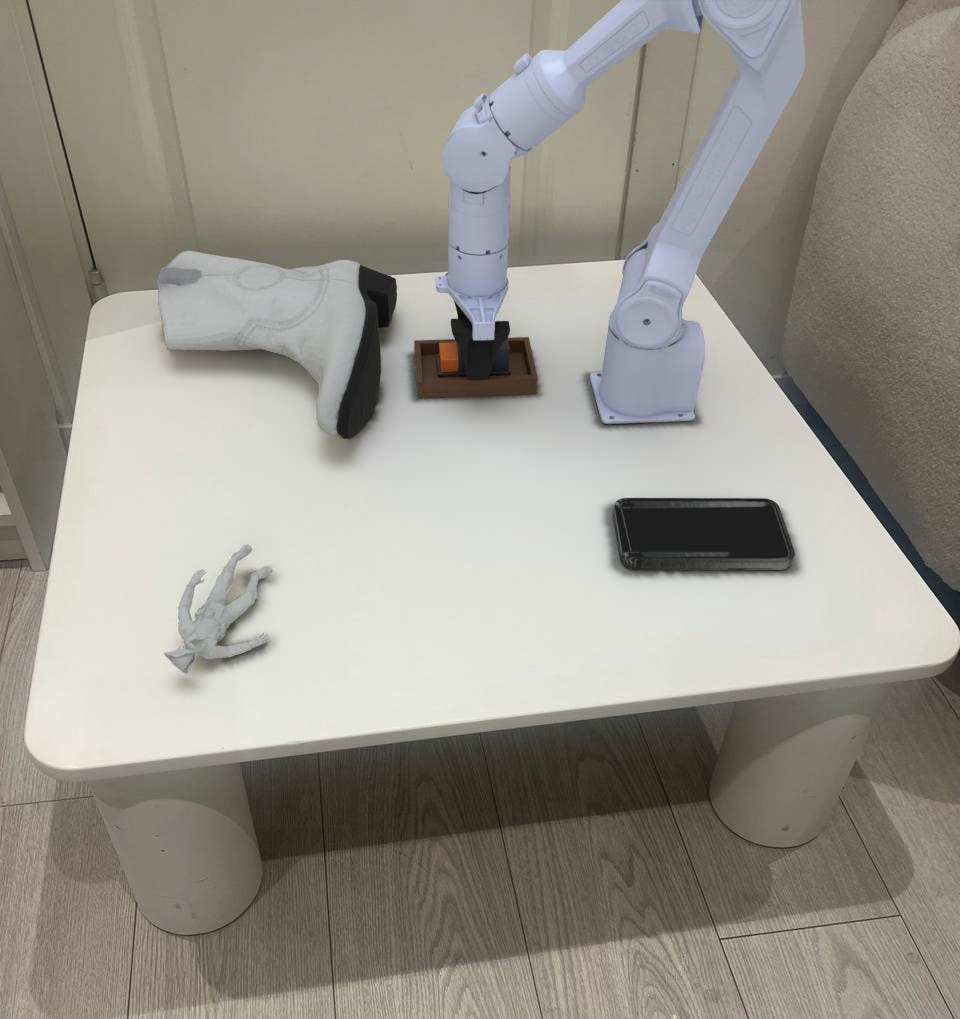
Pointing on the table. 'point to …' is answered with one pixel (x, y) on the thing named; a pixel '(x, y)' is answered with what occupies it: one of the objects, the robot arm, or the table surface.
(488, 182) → the robot arm
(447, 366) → the stepped block
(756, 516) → the phone
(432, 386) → the rectangular tray
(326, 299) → the cowboy boot
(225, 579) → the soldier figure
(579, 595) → the table surface
